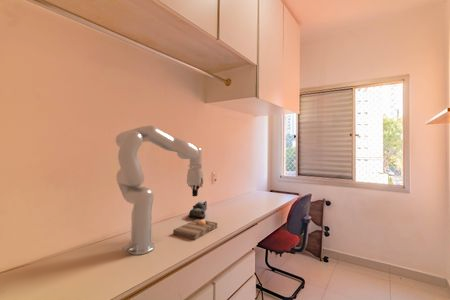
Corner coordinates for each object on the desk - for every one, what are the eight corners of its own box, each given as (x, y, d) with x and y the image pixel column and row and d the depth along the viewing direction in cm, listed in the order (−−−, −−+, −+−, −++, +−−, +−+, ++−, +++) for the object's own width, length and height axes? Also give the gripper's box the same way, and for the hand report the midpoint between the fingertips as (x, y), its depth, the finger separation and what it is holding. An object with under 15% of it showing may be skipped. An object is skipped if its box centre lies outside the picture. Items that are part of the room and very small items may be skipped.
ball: (207, 220, 146) (202, 223, 142) (206, 227, 147) (201, 230, 143) (201, 217, 149) (197, 220, 144) (200, 224, 150) (195, 226, 145)
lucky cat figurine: (185, 216, 171) (191, 198, 177) (199, 220, 175) (204, 203, 181) (192, 215, 158) (197, 196, 164) (207, 220, 162) (212, 201, 168)
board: (194, 240, 125) (194, 234, 125) (173, 234, 133) (173, 229, 133) (217, 227, 146) (217, 222, 146) (197, 223, 154) (197, 219, 154)
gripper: (182, 166, 142) (181, 195, 142) (201, 167, 135) (201, 198, 134) (190, 166, 149) (189, 193, 148) (208, 167, 141) (208, 196, 141)
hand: (195, 195), depth 141 cm, fingers closed
